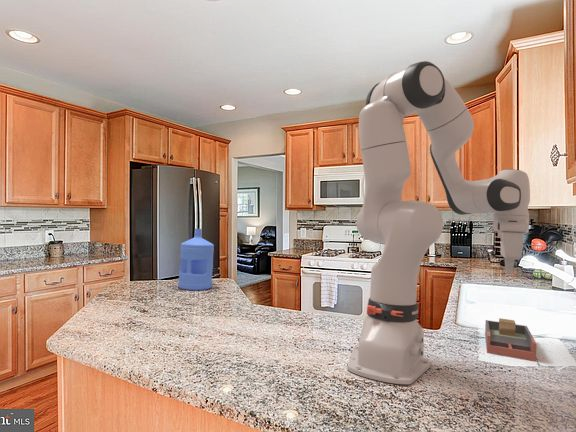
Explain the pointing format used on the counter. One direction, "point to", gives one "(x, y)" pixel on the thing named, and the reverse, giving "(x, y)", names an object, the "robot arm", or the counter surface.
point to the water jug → (196, 263)
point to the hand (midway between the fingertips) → (508, 273)
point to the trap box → (510, 342)
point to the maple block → (507, 327)
